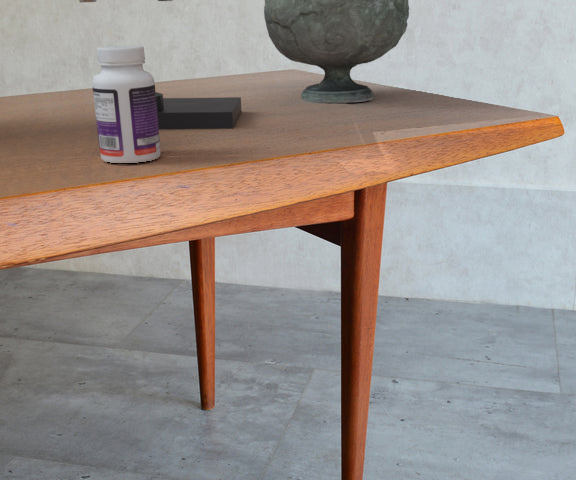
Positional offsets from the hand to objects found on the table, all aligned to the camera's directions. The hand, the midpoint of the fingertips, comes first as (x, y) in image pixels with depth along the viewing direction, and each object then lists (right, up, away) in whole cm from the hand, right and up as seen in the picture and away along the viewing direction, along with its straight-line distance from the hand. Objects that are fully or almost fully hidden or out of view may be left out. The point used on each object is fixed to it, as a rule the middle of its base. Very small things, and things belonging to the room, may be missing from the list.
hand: (126, 1), depth 78 cm
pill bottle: (+3, -19, -11) cm, 22 cm away
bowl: (+24, -4, +24) cm, 34 cm away
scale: (+4, -11, +8) cm, 14 cm away
